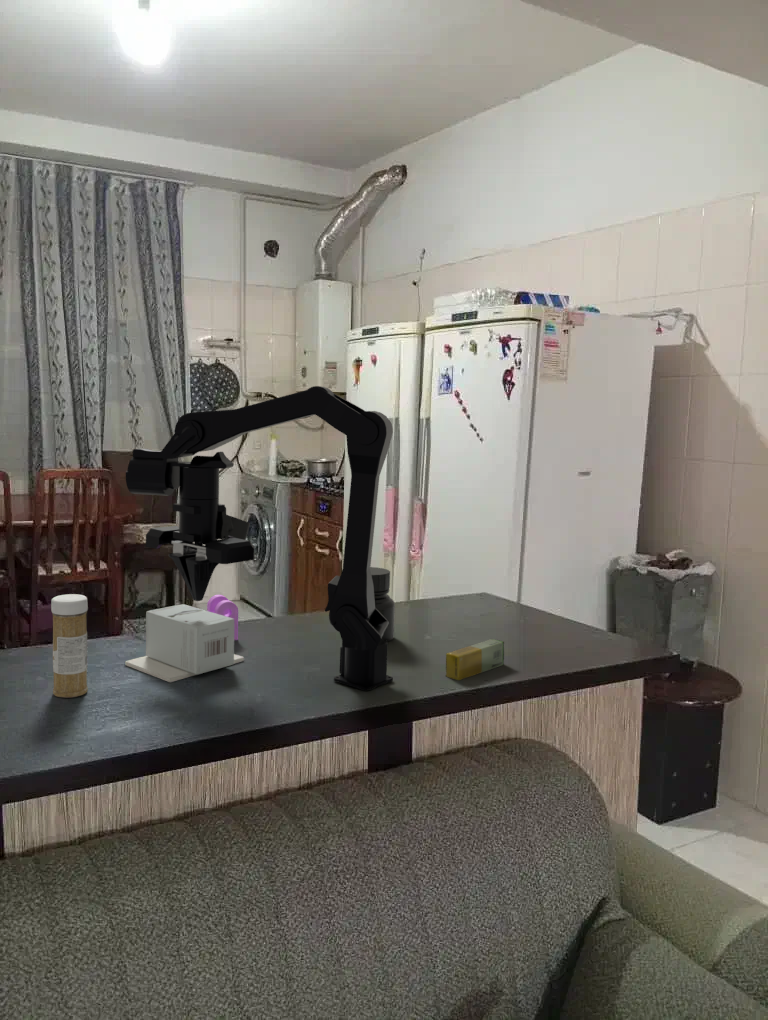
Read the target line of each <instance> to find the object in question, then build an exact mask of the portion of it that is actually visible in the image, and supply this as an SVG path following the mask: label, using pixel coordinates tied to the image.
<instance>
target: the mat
mask: <svg viewBox="0 0 768 1020" xmlns="http://www.w3.org/2000/svg"><path fill="white" fill-rule="evenodd" d="M244 661H245V657H244V656H242V655H239V654H235V653H234V664H238V663H241V662H244ZM124 663H125V666H127V667H130V668H132V669H135V670H137V671H139V672H142V673H145V674H148V675H149V676H153V677H155V678H158V679H161V680H163V681H166V682H168V683H173V682H176V681H180V680H182V679H187V678H189V677H193V676H197V675H196V674H193V673H191V672H188V671H185V670H182V669H180V668H177V667H174V666H172V665H169V664H166V663H164V662H161V661H158V660H156V659H153V658H150V657H147V656H146V655H145V656H140V657H136V658H133V659H129V660H126V661H125V662H124ZM234 664H233V665H234Z"/></svg>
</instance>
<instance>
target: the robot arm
mask: <svg viewBox="0 0 768 1020" xmlns="http://www.w3.org/2000/svg"><path fill="white" fill-rule="evenodd" d="M313 416H317V417H318V418H320V419H321V420H323V421H324V422H325V423H327V424H329V425H330V427H333V428H334V429H335V430H337V431H338V432H340V433H342V434H344V435H345V437H346V450H347V457H348V462H349V469H350V474H351V478H350V489H349V499H348V506H347V507H348V508H347V518H346V530H345V543H344V552H343V560H342V561H343V562H342V570H341V572H340V575H335V576H334V577H333V578H332V579H331V580H330V581H329V582H328V584H327V596H328V597H327V598H328V599H327V604H326V607H325V609H324V612H325V613H327V612H328V618H329V619H328V620H329V622H330V625H331V626H332V627H333V628H334V629H335V630H336V632H338V633H339V634H340V639H341V646H340V648H339V675H336V676H333V681H334V682H337V683H341V684H343V685H347V686H349V687H353V688H357V689H358V690H362V691H370V690H372V689H375V688H377V687H381V686H383V685H385V684H388V683H390V682H393V681H394V677H393V676H390V675H388V674H387V673H388V650H389V649H388V647H389V641H387V642H384V640H383V639H382V636H383V635H384V633H385V631H386V628H387V626H388V624H389V622H388V620H387V619H386V618H385V617H384V616H383V615H382V614H381V613H380V612H379V611H378V610H377V609H376V607H375V598H374V586H373V581H372V575H371V568H370V567H372V566H371V564H372V555H373V546H374V545H373V544H374V537H375V536H374V533H375V524H376V515H377V514H376V513H377V504H378V493H379V485H380V484H379V482H380V476H381V472H382V469H383V466H384V463H385V461H386V457H387V454H388V452H389V448H390V444H391V441H392V438H393V433H394V432H393V430H394V429H393V425H392V421H390V419H389V418H388V416H387V415H386V414H384V413H382V412H381V411H377V410H365V409H363V408H362V407H360V406H358V405H356V404H355V403H352V402H350V401H348V400H347V399H346V398H343V397H341V396H339V395H337V394H336V393H334V392H333V391H332V390H331V389H330V388H329V387H325V386H322V385H321V386H320V385H315V386H311V387H309V388H307V389H305V390H302V391H298V392H295V393H290V394H286V395H283V396H280V397H275V398H272V399H269V400H265V401H260V402H257V403H256V402H255V403H253V404H249V405H246V406H242V407H239V408H234V409H223V410H222V409H221V410H210V411H209V410H208V411H195V412H194V411H193V412H187V413H185V414H182V415H181V416H179V418H178V420H177V422H176V424H175V426H174V433H173V435H172V437H171V438H170V439H169V440H168V442H167V443H166V444H165V446H164V447H163V448H162V450H155V449H154V450H151V449H148V448H142V447H141V448H134V449H132V458H131V459H130V460H129V462H128V465H127V469H126V471H125V484H126V487H127V489H128V491H129V492H130V494H134V495H150V496H151V495H153V496H167V497H169V496H171V495H172V494H173V493H174V491H175V490H178V489H179V490H178V491H179V495H178V496H179V497H178V498H179V499H178V501H179V503H173V504H172V510H173V511H174V512H178V513H179V514H178V515H179V517H178V519H179V520H178V522H179V524H178V525H179V526H176V525H171V526H169V525H168V526H160V527H151V528H150V529H149V531H147V533H146V534H145V547H146V548H149V549H150V548H151V549H155V550H158V549H160V548H161V547H162V546H163V545H168V544H169V545H171V546H172V552H171V553H168V557H169V558H170V559H172V561H173V563H174V564H175V566H176V568H177V570H178V572H179V573H180V575H181V577H182V579H183V580H184V583H185V585H186V587H187V590H188V592H189V593H190V595H191V597H192V600H193V601H195V602H201V601H203V599H204V597H205V594H206V593H207V589H208V586H209V584H210V583H209V582H210V581H211V578H212V576H213V573H214V572H215V569H216V567H217V566H218V565H229V564H236V563H241V562H242V563H243V562H247V561H248V562H249V561H253V560H255V545H254V544H253V543H252V541H250V540H248V539H247V536H248V532H249V529H250V525H251V523H250V522H248V521H246V520H243V519H240V518H237V517H235V516H231V515H228V514H227V507H226V506H225V504H222V503H220V501H219V500H220V498H219V497H220V470H221V469H222V470H225V469H230V468H233V467H234V464H235V463H233V462H232V461H231V460H230V459H229V458H228V457H227V456H226V455H225V453H224V451H217V452H215V454H213V456H212V455H196V454H198V453H201V452H210V451H213V450H216V449H218V448H220V447H222V446H225V445H226V444H228V443H231V442H232V441H234V440H236V439H239V438H240V437H242V436H243V435H246V434H248V433H251V432H256V431H259V430H263V429H267V428H271V427H275V426H278V425H282V424H285V423H290V422H294V421H297V420H298V421H299V420H301V419H304V418H309V417H313ZM191 456H193V457H192V458H191V461H180V459H181V458H185V457H191ZM179 458H180V459H179Z"/></svg>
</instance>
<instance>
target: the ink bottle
mask: <svg viewBox="0 0 768 1020" xmlns="http://www.w3.org/2000/svg"><path fill="white" fill-rule="evenodd" d="M370 568H371V575H372V581H373V586H374V598H375V607H376V609H377V610H378V611H379V612H380V613H381V614H382V615H383V616H384V617H385V618H386V619H387V620H388V622H389V624H388V626H387V628H386V631H385V633H384V635H383V636H382V639H383V640H384V642H389V641H392V640H393V639H394V636H395V634H394V632H395V613H396V612H395V611H396V603H395V601H394V600H393V599H392V597H390V595H389V593H390V587H391V586H390V585H391V583H390V582H391V571H390V569H386V568H383V567H374V566H370Z"/></svg>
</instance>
